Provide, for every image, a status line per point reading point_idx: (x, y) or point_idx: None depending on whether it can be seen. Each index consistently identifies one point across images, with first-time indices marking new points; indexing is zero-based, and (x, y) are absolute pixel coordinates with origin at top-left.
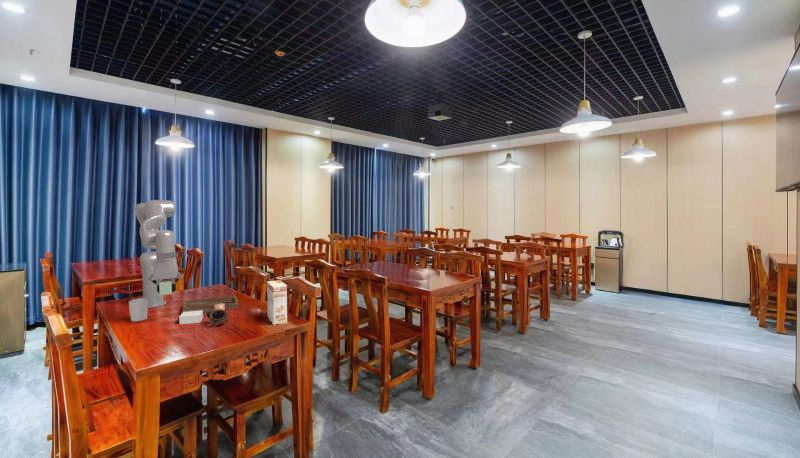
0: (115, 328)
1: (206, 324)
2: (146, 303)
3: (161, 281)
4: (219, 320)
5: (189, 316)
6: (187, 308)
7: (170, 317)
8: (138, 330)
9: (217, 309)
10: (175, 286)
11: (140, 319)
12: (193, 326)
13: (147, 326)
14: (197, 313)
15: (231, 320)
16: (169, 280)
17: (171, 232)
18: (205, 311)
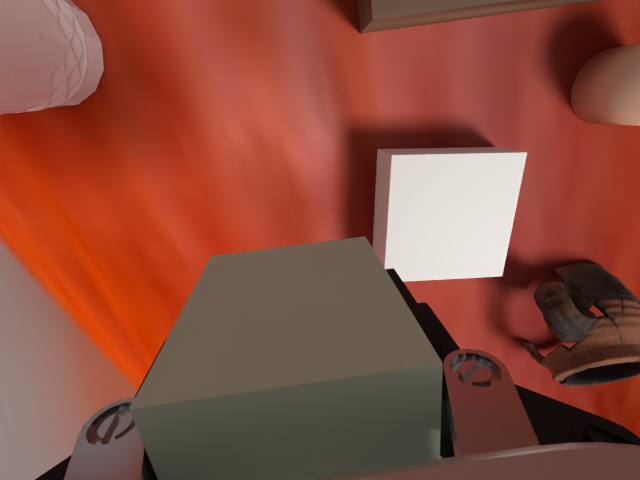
0: (8, 238)
1: (505, 302)
2: (16, 40)
3: (186, 473)
4: (583, 377)
5: (441, 277)
6: (409, 16)
7: (280, 75)
8: (178, 310)
9: (621, 123)
10: (443, 331)
11: (78, 101)
12: (445, 317)
13: (198, 251)
14: (489, 231)
15: (628, 269)
16: (368, 399)
17: None
18: (524, 8)
